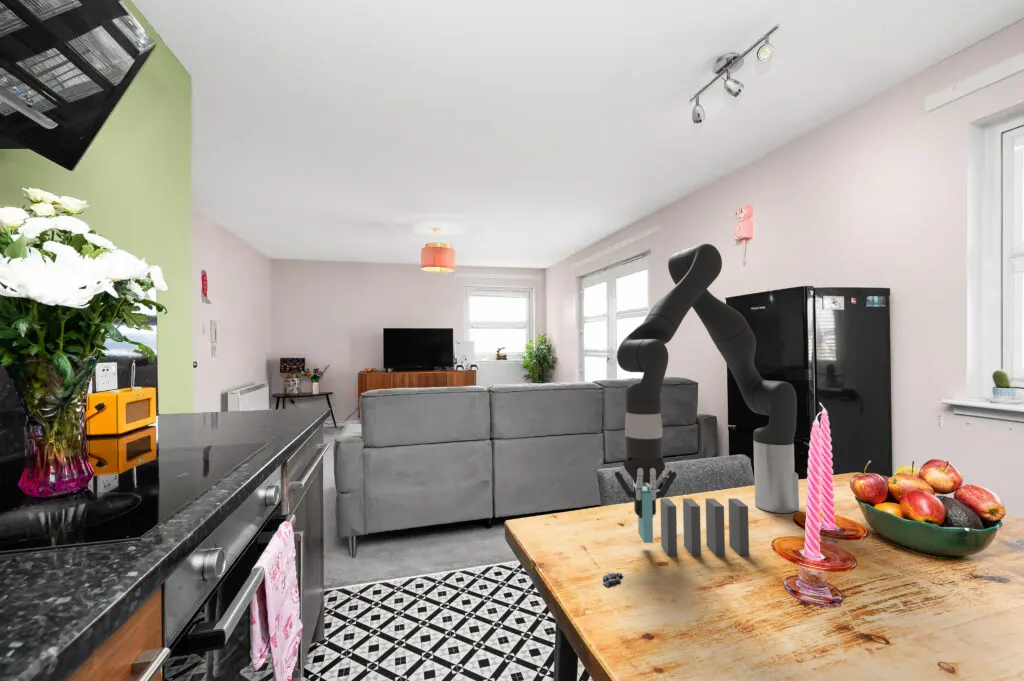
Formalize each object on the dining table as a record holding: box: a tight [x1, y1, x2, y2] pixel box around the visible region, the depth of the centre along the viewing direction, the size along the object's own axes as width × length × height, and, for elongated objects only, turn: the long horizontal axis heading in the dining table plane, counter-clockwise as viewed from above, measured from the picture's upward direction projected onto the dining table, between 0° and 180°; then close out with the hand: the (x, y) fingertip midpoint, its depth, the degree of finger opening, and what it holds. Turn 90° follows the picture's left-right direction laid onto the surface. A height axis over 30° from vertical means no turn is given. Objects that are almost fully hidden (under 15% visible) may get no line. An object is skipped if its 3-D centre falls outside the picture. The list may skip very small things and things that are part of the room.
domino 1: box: [659, 497, 678, 557], centre depth 96 cm, size 2×5×10 cm, turn 178°
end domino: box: [637, 485, 654, 544], centre depth 97 cm, size 2×5×10 cm, turn 177°
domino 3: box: [705, 497, 726, 557], centre depth 96 cm, size 2×5×10 cm, turn 178°
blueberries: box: [602, 572, 624, 589], centre depth 84 cm, size 7×8×2 cm
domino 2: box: [682, 497, 702, 557], centre depth 96 cm, size 2×5×10 cm, turn 178°
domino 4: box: [728, 497, 750, 557], centre depth 96 cm, size 2×5×10 cm, turn 178°
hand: (645, 516), depth 97 cm, fingers closed on end domino, 1 cm apart
